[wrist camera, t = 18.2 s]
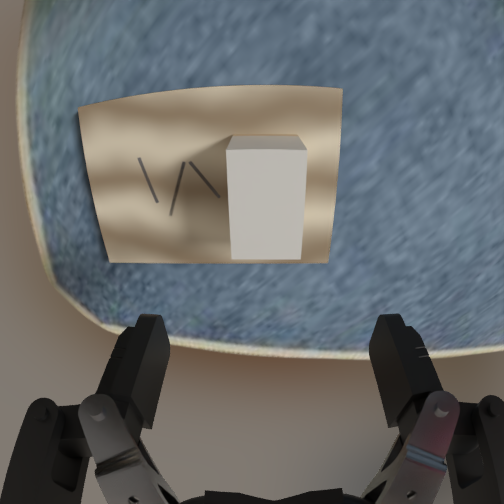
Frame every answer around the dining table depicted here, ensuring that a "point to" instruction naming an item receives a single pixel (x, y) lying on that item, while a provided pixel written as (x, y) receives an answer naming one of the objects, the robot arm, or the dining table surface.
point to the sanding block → (266, 195)
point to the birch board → (201, 167)
